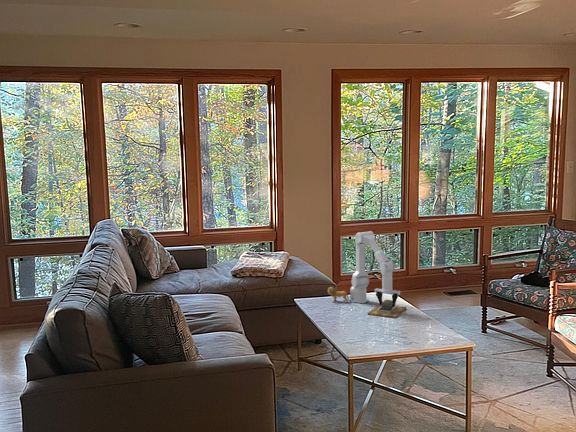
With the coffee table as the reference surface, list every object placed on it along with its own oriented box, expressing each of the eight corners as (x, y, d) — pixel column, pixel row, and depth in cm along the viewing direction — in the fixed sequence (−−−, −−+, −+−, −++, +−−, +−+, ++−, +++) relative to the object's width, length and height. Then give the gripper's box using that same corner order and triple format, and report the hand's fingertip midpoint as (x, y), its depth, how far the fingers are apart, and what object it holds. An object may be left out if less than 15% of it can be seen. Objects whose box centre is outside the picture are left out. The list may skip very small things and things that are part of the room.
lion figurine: (326, 302, 348) (326, 287, 347) (328, 299, 353) (328, 285, 352) (350, 303, 344) (350, 288, 343) (352, 301, 349) (352, 286, 348)
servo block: (381, 311, 322) (381, 302, 321) (386, 307, 330) (386, 298, 329) (387, 312, 320) (387, 302, 319) (393, 308, 328) (393, 298, 327)
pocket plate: (367, 314, 320) (367, 310, 320) (380, 305, 338) (380, 301, 337) (395, 318, 312) (395, 313, 312) (406, 308, 330) (406, 304, 330)
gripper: (372, 282, 323) (372, 306, 325) (397, 285, 316) (397, 309, 318) (376, 280, 329) (377, 303, 331) (401, 282, 322) (401, 305, 324)
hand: (387, 305), depth 325 cm, fingers open, 7 cm apart
